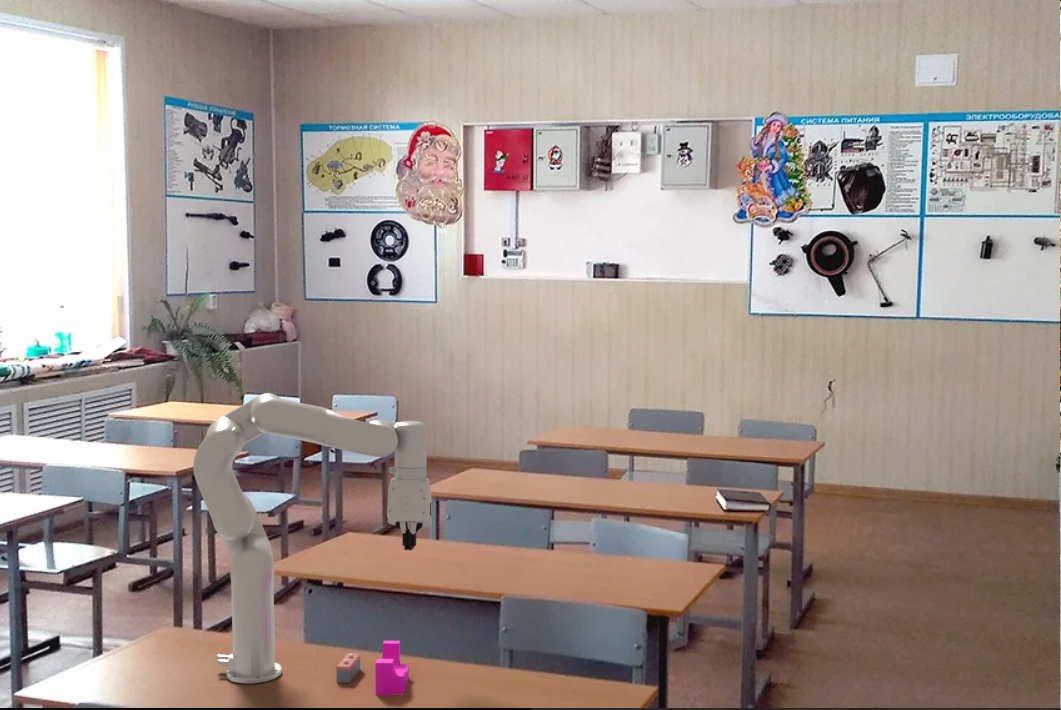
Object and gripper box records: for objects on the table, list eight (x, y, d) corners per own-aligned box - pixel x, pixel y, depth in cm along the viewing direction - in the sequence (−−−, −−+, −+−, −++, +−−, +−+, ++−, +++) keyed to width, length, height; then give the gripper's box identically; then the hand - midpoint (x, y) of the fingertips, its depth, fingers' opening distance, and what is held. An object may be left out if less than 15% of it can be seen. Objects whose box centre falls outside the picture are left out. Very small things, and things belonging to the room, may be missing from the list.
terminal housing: (336, 682, 266) (336, 663, 266) (348, 668, 275) (347, 650, 275) (349, 683, 266) (349, 664, 265) (360, 669, 275) (360, 651, 274)
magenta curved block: (403, 695, 259) (403, 663, 258) (375, 695, 259) (375, 663, 258) (410, 671, 274) (410, 640, 273) (384, 671, 274) (384, 640, 273)
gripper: (375, 474, 274) (374, 550, 275) (437, 477, 271) (435, 554, 273) (384, 468, 281) (383, 543, 283) (444, 472, 279) (443, 547, 280)
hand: (409, 548), depth 278 cm, fingers closed
